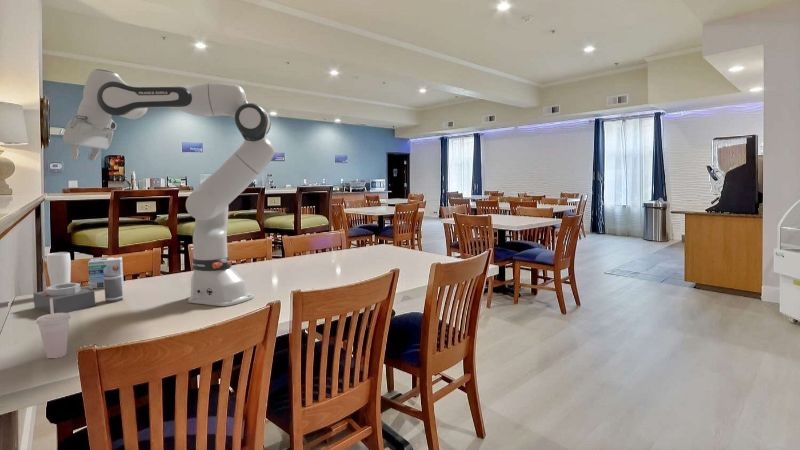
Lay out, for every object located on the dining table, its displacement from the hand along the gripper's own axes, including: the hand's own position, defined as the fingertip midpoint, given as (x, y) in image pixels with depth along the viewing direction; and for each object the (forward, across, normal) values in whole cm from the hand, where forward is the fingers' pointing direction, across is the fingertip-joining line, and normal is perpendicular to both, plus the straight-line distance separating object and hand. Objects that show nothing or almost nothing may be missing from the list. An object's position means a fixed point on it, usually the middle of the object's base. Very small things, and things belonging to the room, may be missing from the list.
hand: (82, 159), depth 142 cm
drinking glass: (+51, +13, +2) cm, 52 cm away
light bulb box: (+48, +24, -7) cm, 54 cm away
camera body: (+48, -4, -8) cm, 49 cm away
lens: (+44, +3, -20) cm, 49 cm away
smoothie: (+43, -45, -30) cm, 69 cm away
